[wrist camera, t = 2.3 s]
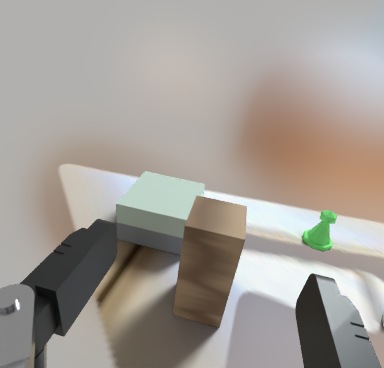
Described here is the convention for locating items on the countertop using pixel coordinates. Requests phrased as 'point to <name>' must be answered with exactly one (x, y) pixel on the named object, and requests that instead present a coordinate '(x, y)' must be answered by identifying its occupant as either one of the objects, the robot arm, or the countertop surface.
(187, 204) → the pale green grey block
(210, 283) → the walnut block
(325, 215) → the game piece
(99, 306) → the countertop surface
